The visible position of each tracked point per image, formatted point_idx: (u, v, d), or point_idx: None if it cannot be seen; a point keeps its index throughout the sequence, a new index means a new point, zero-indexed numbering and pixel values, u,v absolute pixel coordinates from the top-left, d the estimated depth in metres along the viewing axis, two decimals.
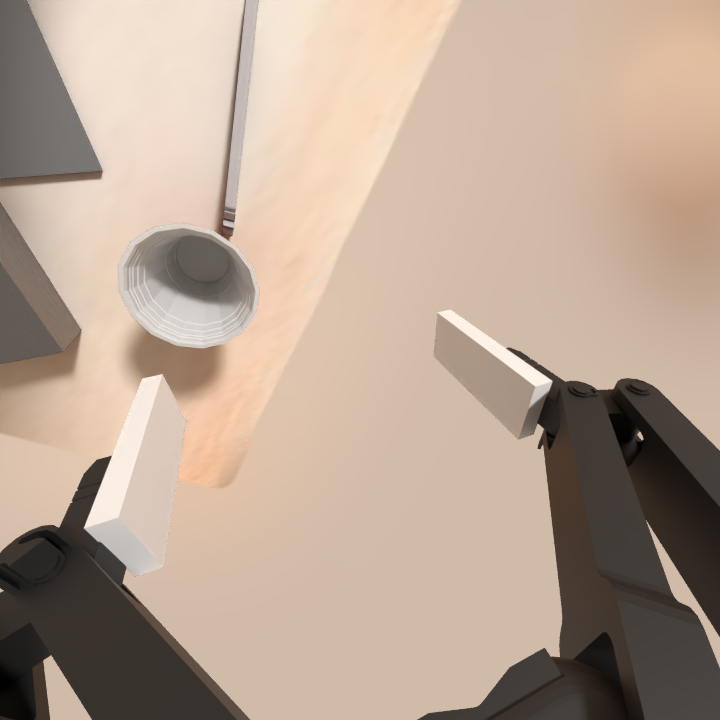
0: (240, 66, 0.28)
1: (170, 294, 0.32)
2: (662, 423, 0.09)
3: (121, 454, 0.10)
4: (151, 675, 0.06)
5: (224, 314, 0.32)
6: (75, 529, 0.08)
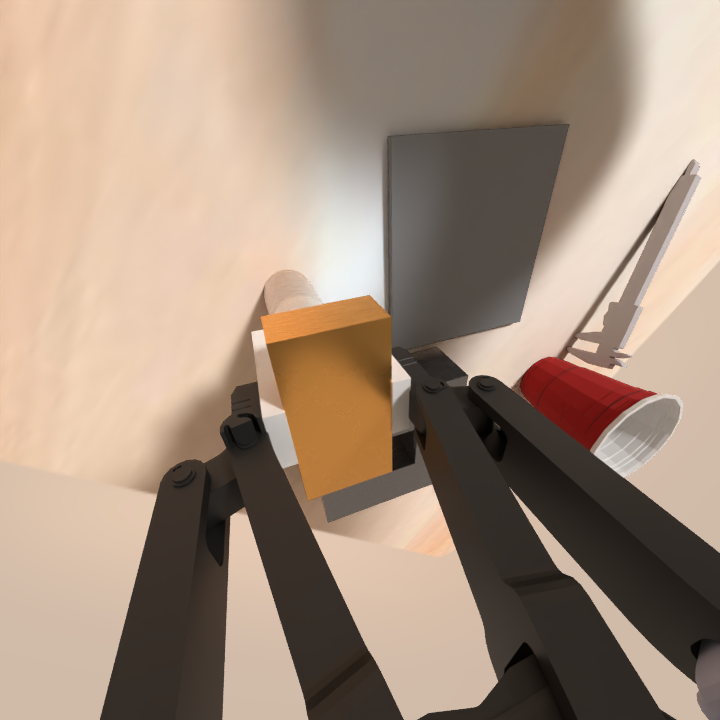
0: (669, 232, 0.30)
1: None
2: (515, 416, 0.10)
3: (264, 378, 0.12)
4: (297, 544, 0.07)
5: None
6: None
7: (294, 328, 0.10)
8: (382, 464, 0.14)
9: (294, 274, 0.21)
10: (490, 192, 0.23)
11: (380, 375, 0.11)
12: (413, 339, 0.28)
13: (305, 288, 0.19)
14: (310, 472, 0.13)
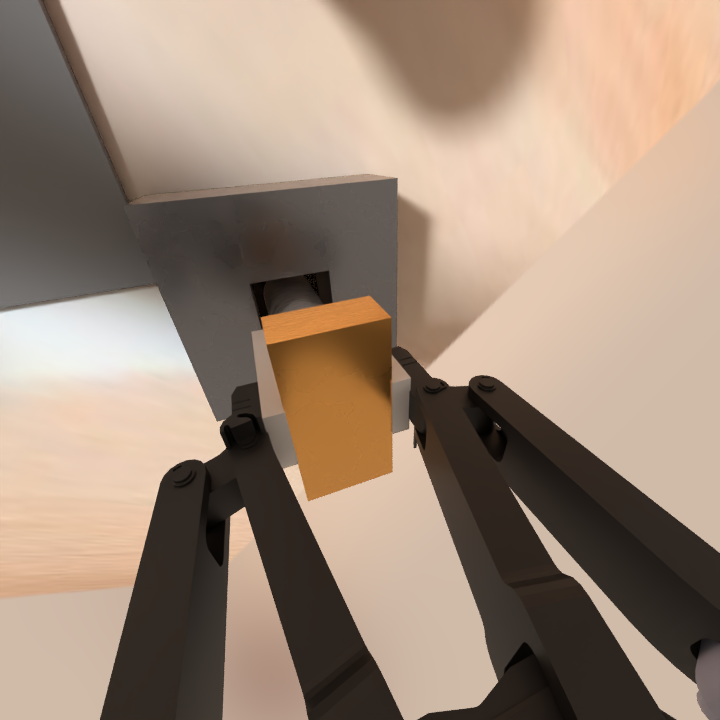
0: None
1: None
2: (515, 415, 0.10)
3: (264, 378, 0.12)
4: (298, 545, 0.07)
5: None
6: None
7: (294, 329, 0.10)
8: (382, 464, 0.14)
9: None
10: None
11: (380, 376, 0.11)
12: (129, 254, 0.19)
13: (305, 288, 0.19)
14: (310, 472, 0.13)
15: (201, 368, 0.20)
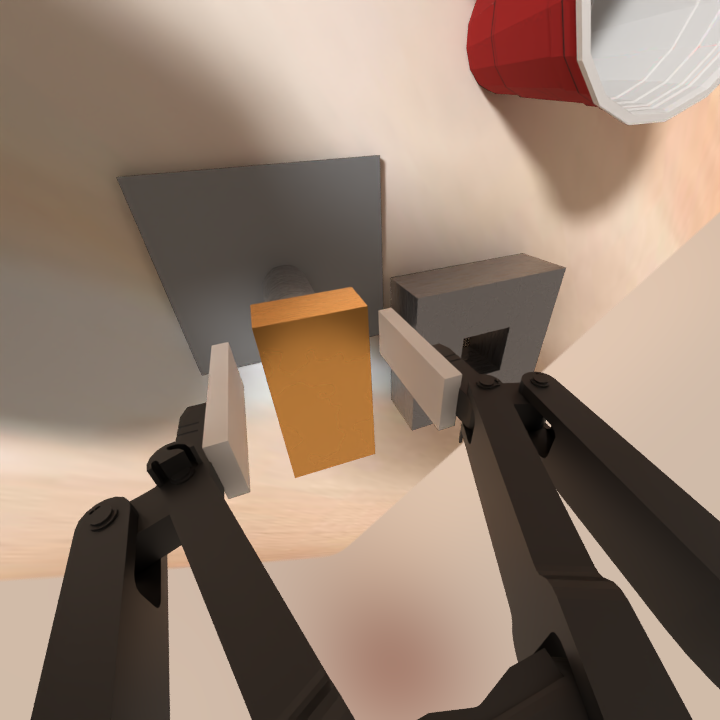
0: None
1: None
2: (566, 413, 0.10)
3: (214, 399, 0.11)
4: (246, 579, 0.07)
5: None
6: None
7: (279, 315, 0.11)
8: (364, 445, 0.15)
9: (291, 269, 0.23)
10: (221, 270, 0.22)
11: (359, 360, 0.12)
12: (373, 316, 0.28)
13: (300, 282, 0.20)
14: (296, 450, 0.14)
15: None
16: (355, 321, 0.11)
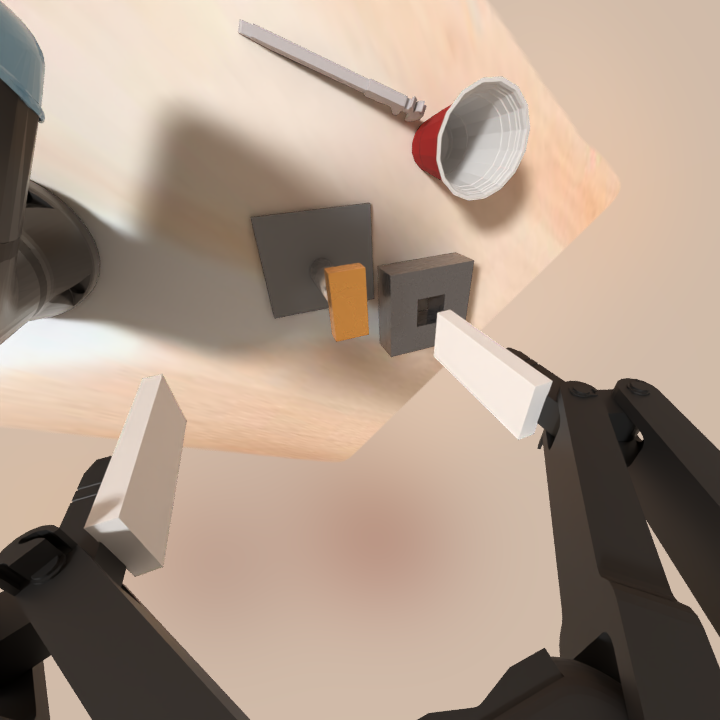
0: (302, 58, 0.32)
1: (462, 175, 0.40)
2: (662, 423, 0.09)
3: (121, 454, 0.10)
4: (151, 675, 0.06)
5: (496, 128, 0.36)
6: (75, 529, 0.08)
7: (335, 270, 0.33)
8: (364, 329, 0.37)
9: (325, 260, 0.44)
10: (290, 261, 0.44)
11: (362, 288, 0.34)
12: (367, 287, 0.50)
13: (331, 265, 0.42)
14: (338, 327, 0.35)
15: (393, 332, 0.50)
16: (361, 273, 0.33)
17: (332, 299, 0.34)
